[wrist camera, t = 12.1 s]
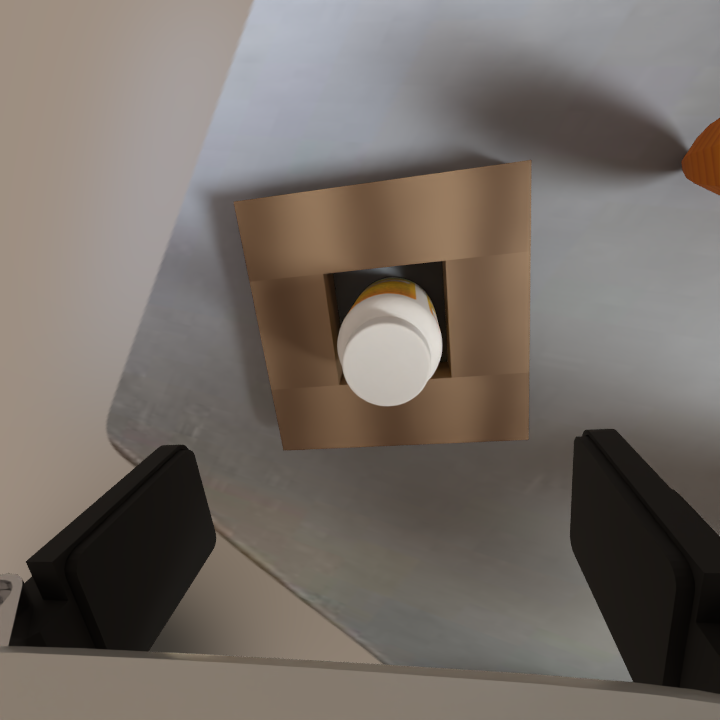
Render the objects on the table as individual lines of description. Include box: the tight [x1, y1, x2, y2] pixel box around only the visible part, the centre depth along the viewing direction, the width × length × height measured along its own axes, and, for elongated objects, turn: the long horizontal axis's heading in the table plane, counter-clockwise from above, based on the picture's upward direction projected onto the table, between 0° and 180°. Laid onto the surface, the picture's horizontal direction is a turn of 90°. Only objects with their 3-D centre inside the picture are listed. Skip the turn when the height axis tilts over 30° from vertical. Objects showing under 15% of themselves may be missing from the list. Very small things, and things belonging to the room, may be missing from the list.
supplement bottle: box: [337, 277, 442, 406], centre depth 23 cm, size 5×5×10 cm
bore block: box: [234, 160, 531, 450], centre depth 26 cm, size 16×16×3 cm
